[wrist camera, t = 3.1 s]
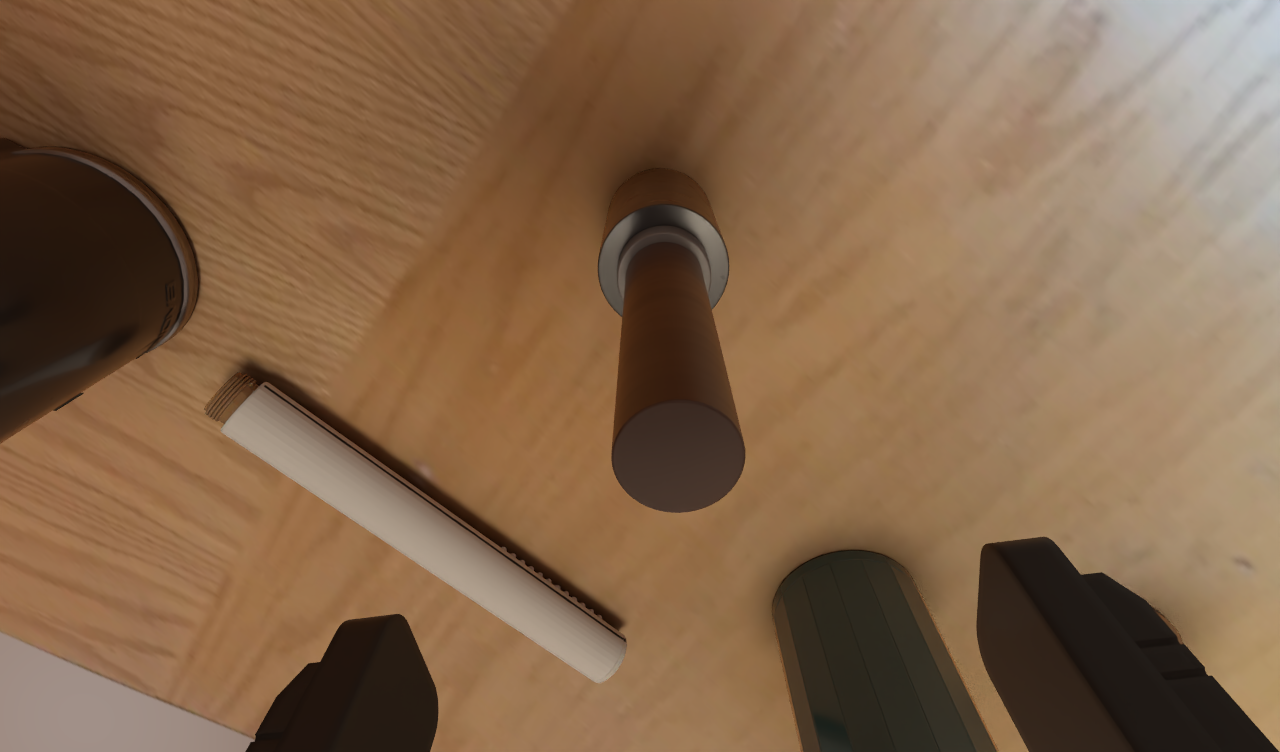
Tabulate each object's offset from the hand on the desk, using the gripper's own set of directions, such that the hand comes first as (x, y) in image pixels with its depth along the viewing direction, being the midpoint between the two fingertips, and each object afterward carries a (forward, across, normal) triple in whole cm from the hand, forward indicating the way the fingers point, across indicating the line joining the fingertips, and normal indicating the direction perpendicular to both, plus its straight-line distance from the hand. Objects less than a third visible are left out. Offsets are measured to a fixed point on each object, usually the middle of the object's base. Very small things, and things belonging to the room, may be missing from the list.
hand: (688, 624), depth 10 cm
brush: (+23, 0, 0) cm, 23 cm away
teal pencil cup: (+23, -7, +24) cm, 34 cm away
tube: (+23, +14, +14) cm, 31 cm away
